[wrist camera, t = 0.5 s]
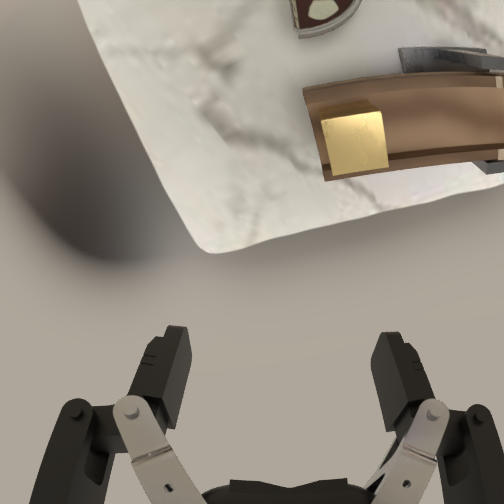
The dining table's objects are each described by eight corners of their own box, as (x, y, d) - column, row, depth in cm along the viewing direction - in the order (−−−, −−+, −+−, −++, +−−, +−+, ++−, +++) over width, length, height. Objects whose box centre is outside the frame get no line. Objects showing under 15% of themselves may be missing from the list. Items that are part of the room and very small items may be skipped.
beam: (302, 87, 23) (302, 92, 21) (583, 85, 12) (597, 92, 10) (323, 169, 28) (325, 182, 25) (582, 146, 17) (595, 156, 15)
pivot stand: (398, 48, 24) (438, 52, 16) (481, 48, 21) (533, 59, 13) (414, 145, 31) (450, 181, 23) (489, 137, 28) (534, 170, 20)
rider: (317, 108, 23) (320, 120, 19) (367, 99, 22) (380, 111, 18) (328, 155, 25) (333, 175, 22) (376, 147, 24) (388, 167, 21)
